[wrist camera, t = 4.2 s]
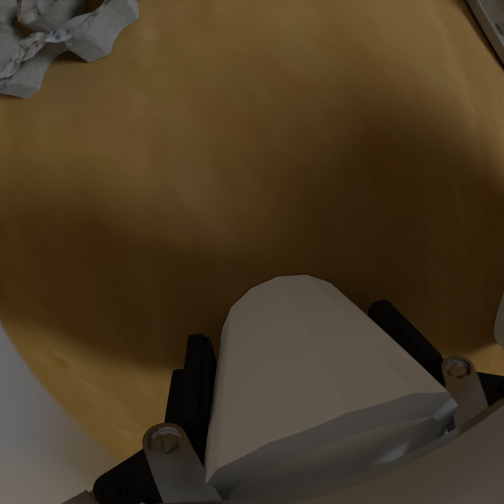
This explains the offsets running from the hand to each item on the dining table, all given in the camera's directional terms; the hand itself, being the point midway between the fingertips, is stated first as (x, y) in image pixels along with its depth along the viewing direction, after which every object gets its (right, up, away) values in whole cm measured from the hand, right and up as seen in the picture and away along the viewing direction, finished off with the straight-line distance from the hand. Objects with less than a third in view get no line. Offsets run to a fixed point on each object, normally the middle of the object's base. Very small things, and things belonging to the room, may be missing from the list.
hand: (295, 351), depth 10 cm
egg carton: (-10, +15, -5) cm, 19 cm away
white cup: (0, 0, +1) cm, 1 cm away
